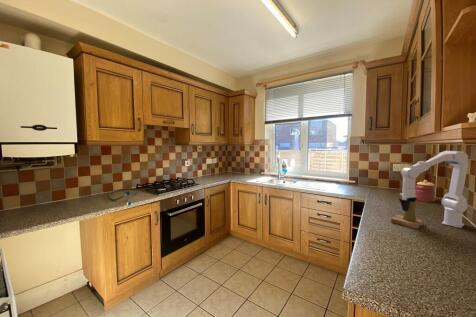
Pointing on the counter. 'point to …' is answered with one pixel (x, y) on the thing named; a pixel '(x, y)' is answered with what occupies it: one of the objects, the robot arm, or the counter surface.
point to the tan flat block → (406, 222)
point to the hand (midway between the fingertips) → (407, 209)
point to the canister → (425, 191)
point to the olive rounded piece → (410, 213)
